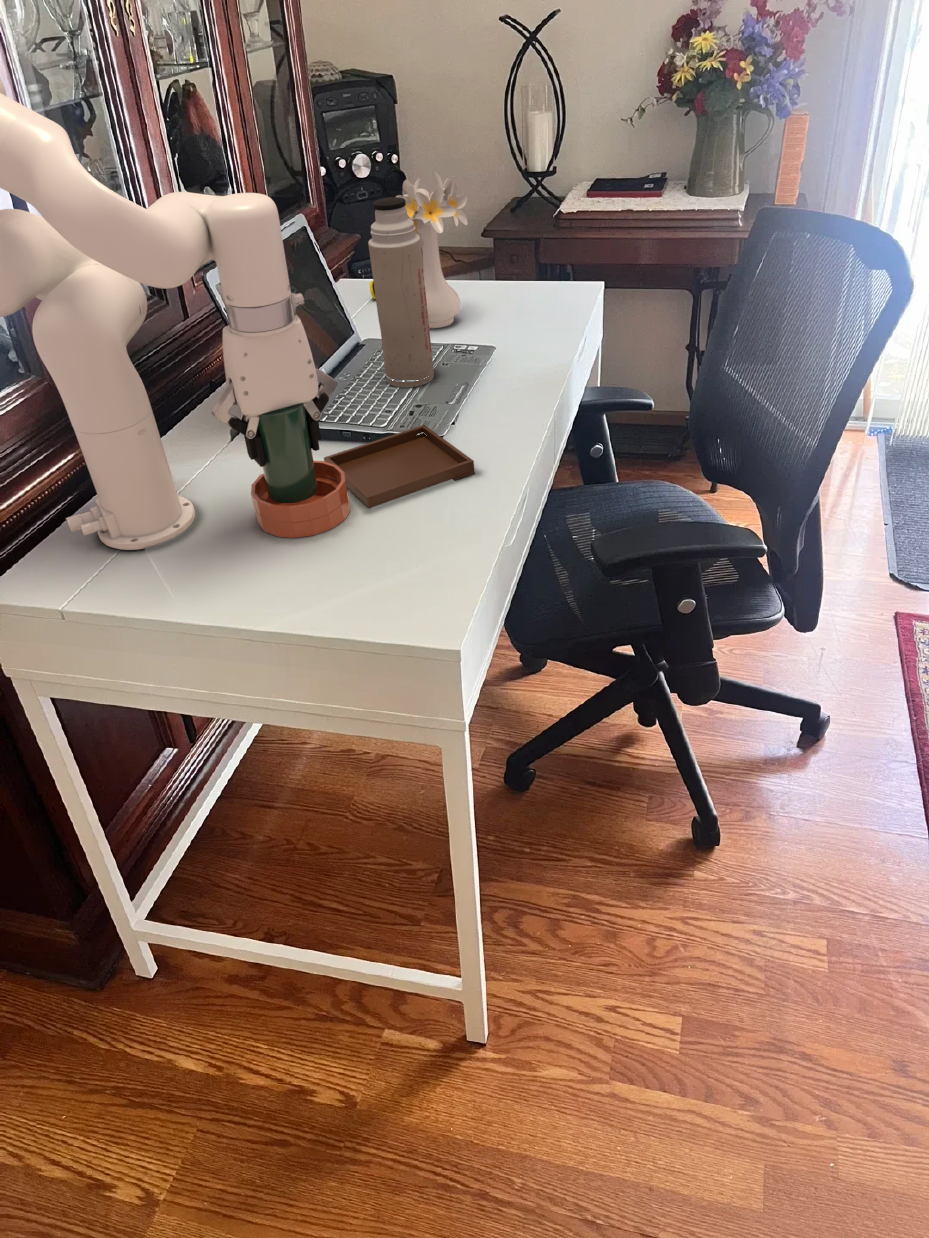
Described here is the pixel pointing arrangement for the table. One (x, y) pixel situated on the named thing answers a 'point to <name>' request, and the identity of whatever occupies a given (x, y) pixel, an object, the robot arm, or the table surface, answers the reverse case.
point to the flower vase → (435, 243)
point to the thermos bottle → (400, 294)
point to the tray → (400, 465)
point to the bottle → (287, 455)
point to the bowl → (304, 505)
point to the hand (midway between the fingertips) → (286, 453)
